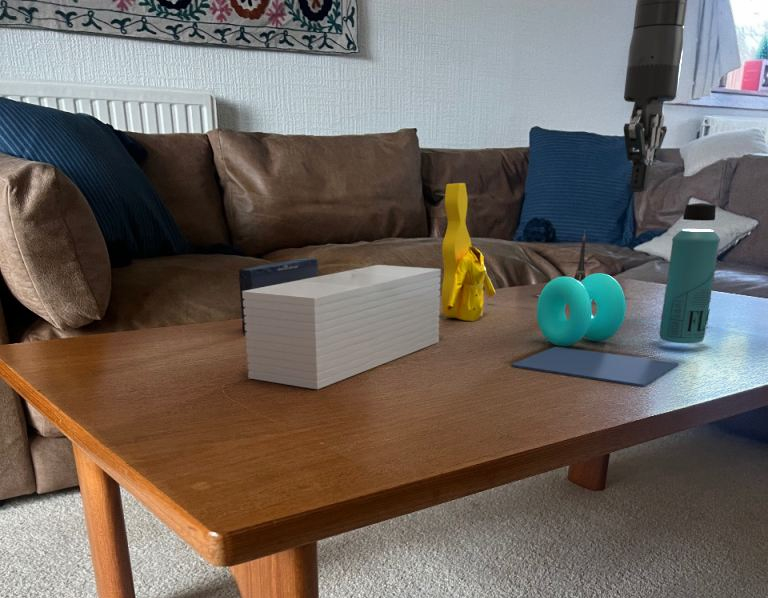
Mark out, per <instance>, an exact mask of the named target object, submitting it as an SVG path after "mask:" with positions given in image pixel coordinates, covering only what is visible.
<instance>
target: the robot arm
mask: <svg viewBox="0 0 768 598" xmlns="http://www.w3.org/2000/svg"><path fill="white" fill-rule="evenodd" d="M687 6H688V0H636V3H635V11H634V19H633V20H634V21H633V30H632V34H631V39H630V43H629V47H628V48H629V49H628V56H627V65H626V75H625V81H624V82H625V83H624V93H623V99H624V101H625V102H627V103H633V107H632V111H631V115H630V118H629V123H624V125H623V136H624V142H625V151H626V158H627V161H629V162H630V165H631V166H632V168H631V177H630V185H629V191H630V192H632V193H645V192H646V191H647V190H648V183H649V176H650V169H651V166H652V165H653V163H654V162H656V161H657V159H658V156H659V154H660V151H661V148H662V145H663V143H664V140H665V137H666V134H667V131H668V129H667V128H668V127H667V125H664V121H665V116H664V103H665V102H671V101H675V100H676V98H677V94H678V87H679V79H680V73H681V67H682V66H681V64H682V57H683V50H684V30H685V29H684V27H685V21H686V16H687V15H686V14H687V8H688V7H687Z"/></svg>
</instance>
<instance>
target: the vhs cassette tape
mask: <svg viewBox="0 0 768 598" xmlns="http://www.w3.org/2000/svg"><path fill="white" fill-rule="evenodd" d="M318 263H319V262H318V258H311V257H310V258H309V257H308V258H307V257H305V258H300V259H299V258H298V259H294V260H293V259H292V260H286V261H282V262H275V263H269V264H263V265H257V266H252V267H245V268H240V269H238V282H239V296H240V297H239V299H240V312H241V319H242V321H241V326H242V327H241V329H242V333H244V334H245V333H246V332H247V331H245V325H246V323H244V317H245V316H246V315H244V308H245V307H243V301H244V299H243V295H242V291H246V290H251V289H256V288H261V287H266V286H272V285H277V284H282V283H287V282H292V281H298V280H303V279H308V278H313V277H318V276H319V274H318V272H319V264H318Z"/></svg>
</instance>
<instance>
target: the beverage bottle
mask: <svg viewBox="0 0 768 598" xmlns="http://www.w3.org/2000/svg"><path fill="white" fill-rule="evenodd" d="M716 206H717V205H716V204H712V203H704V202H695V203H688V204H686V205H685V209H684V213H683V217H682V220H683V221H684V220H685V221H701V222H702V221H715V220H716V209H717V207H716ZM671 241H672V243H671V249H670V250H671V251H670V259H669V266H668V271H667V280H666V285H665V287H664V294H663V295H664V296H663V302H662V310H661V315H660V319H659V320H660V321H659V322H660V325H659V338H660V340H662V341H665V342H670V343H677V344H698V343H702V342H703V341H704V339H705V337H706V336H707V335H706V330H707V329H708V327H707V325H708V324H709V315H710V311H711V308H710V304H711V302H712V301H711V300H712V291H713V286H714V282H715V274H716V270H717V262H718V260H717V259H718V258H717V257H718V253H719V252H718V251H719V246H720V245H719V244H720V242H721V238H720V236H719V235H718V233H717V232H716V231H714V230H713V229H702V228H701V229H700V228H683V229H681V230H680V231H678V232H677V233H676V234H675V235H674V236H672V239H671Z"/></svg>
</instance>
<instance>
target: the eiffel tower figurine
mask: <svg viewBox="0 0 768 598" xmlns="http://www.w3.org/2000/svg"><path fill="white" fill-rule="evenodd" d="M585 232H586V231H584V232H583V235H582V237H581V238H582V241H581V248H580V254H579V259H578V263H577V264H578V265H577V269H576V270H575V274H574V276H573V278H574V279H576V280H577V281H579V282H581V281H582V280H583V279H584V278H586V277H587V276H586V270H585V269H586V267H585V254H586V253H585V252H586V240H587V236H586V234H585ZM539 296H540V294H537V295H536V297H539Z"/></svg>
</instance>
